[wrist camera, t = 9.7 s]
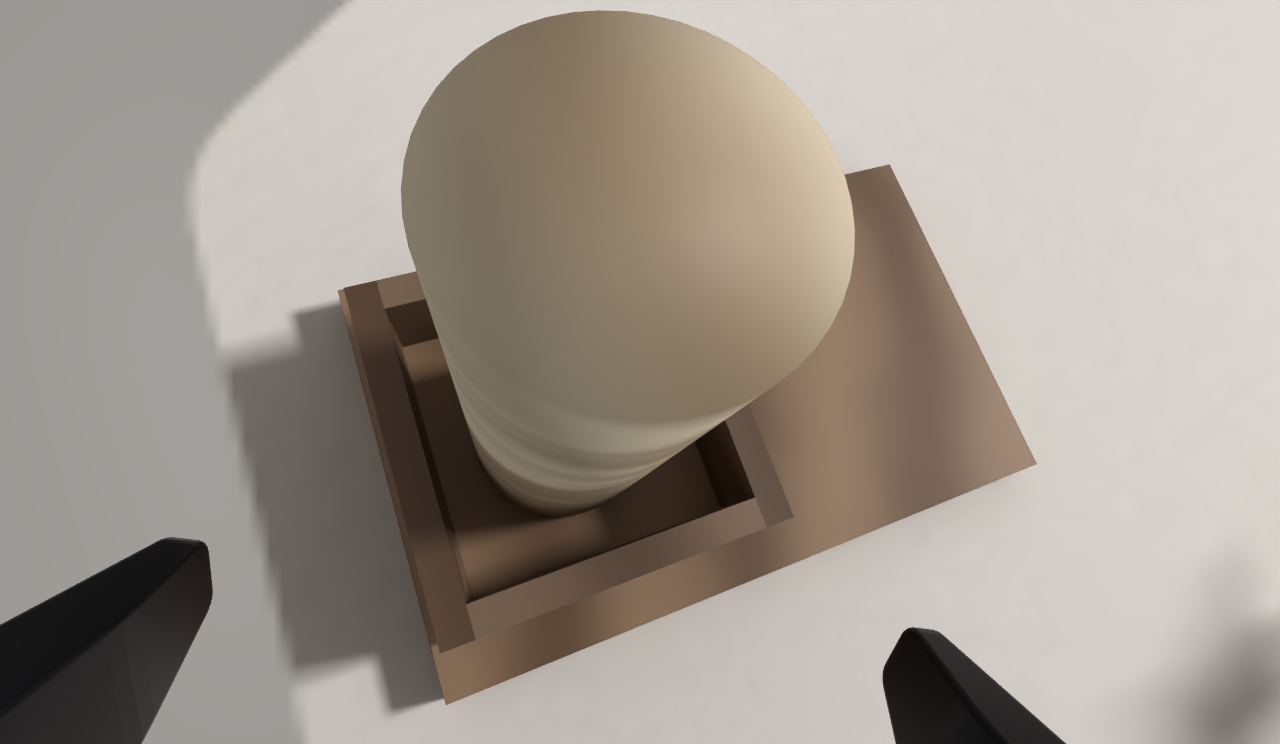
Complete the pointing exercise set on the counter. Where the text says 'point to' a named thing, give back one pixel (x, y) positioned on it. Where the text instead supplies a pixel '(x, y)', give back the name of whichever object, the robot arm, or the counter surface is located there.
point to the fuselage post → (618, 245)
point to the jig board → (686, 465)
